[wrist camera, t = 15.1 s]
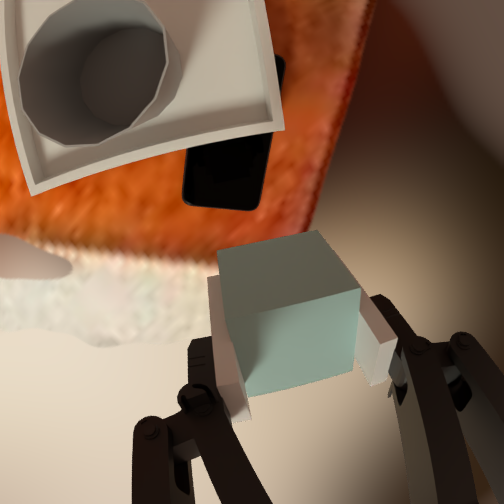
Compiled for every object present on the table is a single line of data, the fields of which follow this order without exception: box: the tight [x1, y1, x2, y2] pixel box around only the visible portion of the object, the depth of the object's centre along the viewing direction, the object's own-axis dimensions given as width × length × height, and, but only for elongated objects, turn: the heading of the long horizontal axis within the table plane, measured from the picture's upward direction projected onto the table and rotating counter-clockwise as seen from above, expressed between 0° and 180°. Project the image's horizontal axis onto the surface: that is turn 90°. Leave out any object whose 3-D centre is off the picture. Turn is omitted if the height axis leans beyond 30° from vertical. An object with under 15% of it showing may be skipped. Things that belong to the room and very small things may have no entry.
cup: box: [17, 0, 182, 148], centre depth 15 cm, size 8×8×10 cm
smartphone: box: [182, 54, 286, 211], centre depth 25 cm, size 7×1×15 cm
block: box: [217, 230, 361, 397], centre depth 14 cm, size 5×5×5 cm
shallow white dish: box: [0, 0, 285, 196], centre depth 17 cm, size 22×24×4 cm
